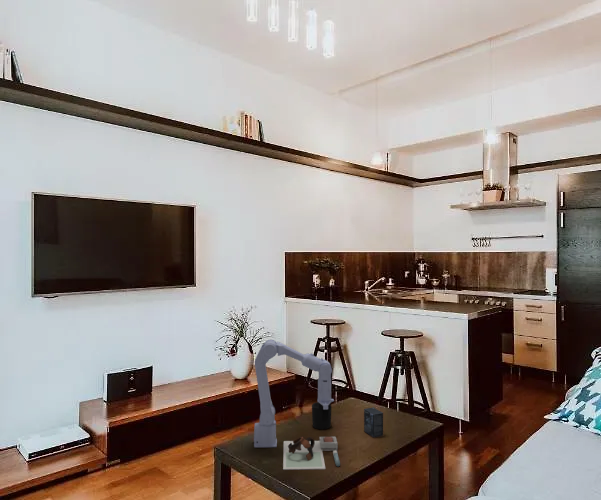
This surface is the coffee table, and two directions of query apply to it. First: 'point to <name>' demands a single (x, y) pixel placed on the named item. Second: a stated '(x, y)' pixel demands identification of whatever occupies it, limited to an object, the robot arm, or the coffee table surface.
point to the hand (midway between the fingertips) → (324, 420)
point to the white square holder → (328, 444)
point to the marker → (336, 458)
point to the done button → (328, 439)
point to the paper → (303, 458)
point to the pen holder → (319, 418)
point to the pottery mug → (305, 443)
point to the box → (373, 422)
